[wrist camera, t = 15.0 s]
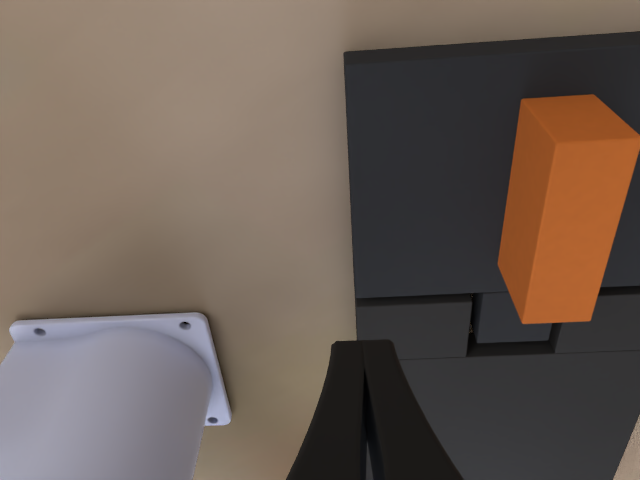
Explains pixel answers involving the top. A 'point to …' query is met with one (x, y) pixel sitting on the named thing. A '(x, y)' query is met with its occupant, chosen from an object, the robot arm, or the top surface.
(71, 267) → the top surface
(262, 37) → the top surface
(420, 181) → the charcoal pad
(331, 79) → the top surface
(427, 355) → the black pad
